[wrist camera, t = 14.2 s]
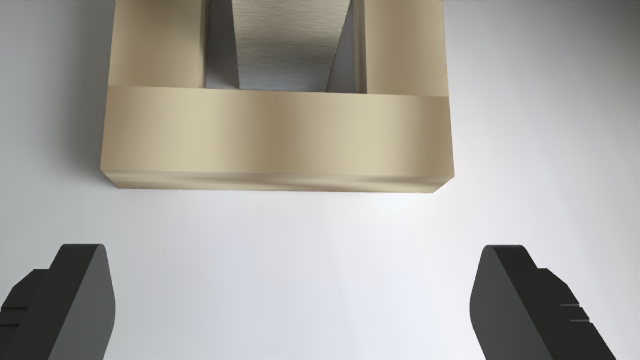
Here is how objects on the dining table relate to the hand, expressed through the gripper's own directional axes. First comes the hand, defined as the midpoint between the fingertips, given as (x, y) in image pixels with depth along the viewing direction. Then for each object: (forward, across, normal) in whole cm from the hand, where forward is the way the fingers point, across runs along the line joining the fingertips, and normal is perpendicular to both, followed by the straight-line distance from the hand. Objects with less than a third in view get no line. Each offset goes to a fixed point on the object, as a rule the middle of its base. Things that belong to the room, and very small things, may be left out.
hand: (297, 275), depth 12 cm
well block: (+17, 0, 0) cm, 17 cm away
